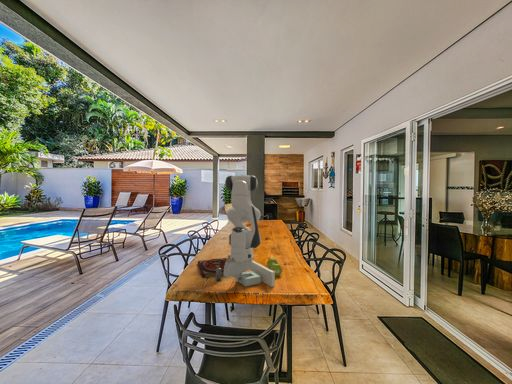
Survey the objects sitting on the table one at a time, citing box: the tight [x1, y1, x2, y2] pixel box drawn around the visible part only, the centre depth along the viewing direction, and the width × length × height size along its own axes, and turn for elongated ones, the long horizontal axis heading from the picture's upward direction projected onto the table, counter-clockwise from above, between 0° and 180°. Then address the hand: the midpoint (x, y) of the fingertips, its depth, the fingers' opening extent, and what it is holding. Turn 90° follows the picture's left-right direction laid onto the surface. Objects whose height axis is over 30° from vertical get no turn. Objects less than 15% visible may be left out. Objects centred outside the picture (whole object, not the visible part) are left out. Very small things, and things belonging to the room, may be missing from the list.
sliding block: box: [238, 270, 262, 287], centre depth 146 cm, size 10×10×4 cm
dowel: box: [215, 268, 222, 282], centre depth 148 cm, size 3×3×7 cm
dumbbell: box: [266, 257, 283, 277], centre depth 164 cm, size 16×8×7 cm, turn 6°
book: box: [197, 257, 229, 279], centre depth 169 cm, size 28×21×5 cm
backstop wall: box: [249, 260, 276, 287], centre depth 150 cm, size 24×2×8 cm, turn 31°
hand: (238, 280), depth 143 cm, fingers closed
